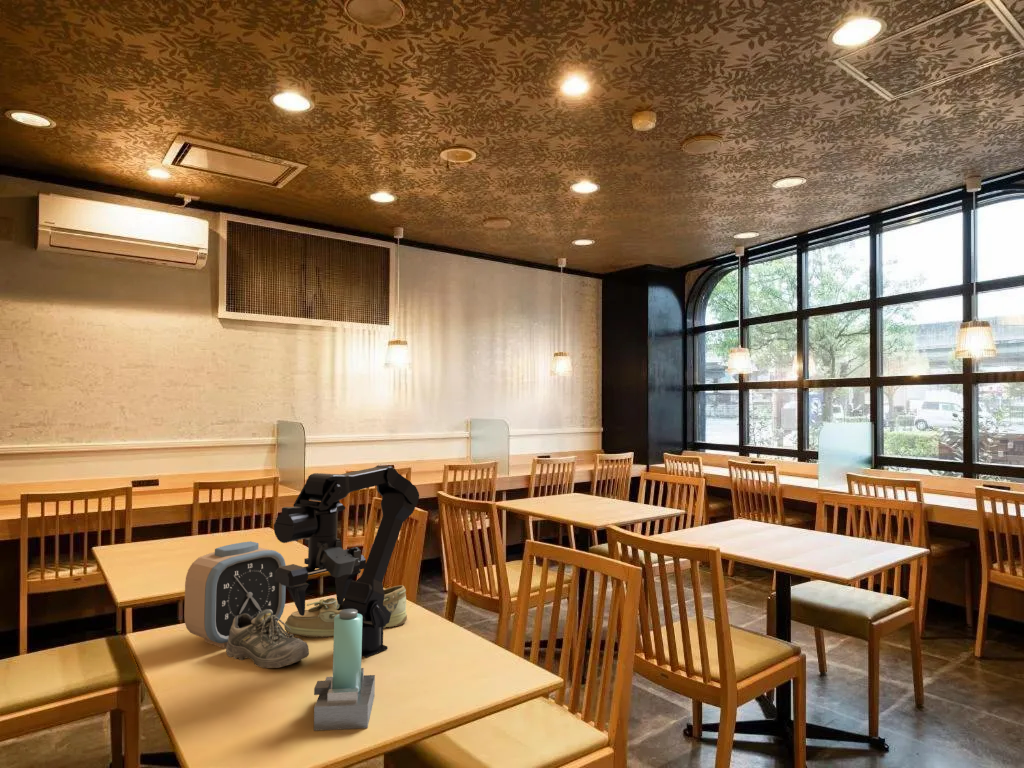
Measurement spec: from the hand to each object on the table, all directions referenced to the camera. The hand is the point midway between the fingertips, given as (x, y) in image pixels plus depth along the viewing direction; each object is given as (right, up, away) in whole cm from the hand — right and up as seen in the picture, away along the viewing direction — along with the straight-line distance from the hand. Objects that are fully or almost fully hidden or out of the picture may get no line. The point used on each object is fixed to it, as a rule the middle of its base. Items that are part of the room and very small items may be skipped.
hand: (321, 609), depth 132 cm
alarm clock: (-26, -14, +19) cm, 35 cm away
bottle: (+10, -9, -17) cm, 21 cm away
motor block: (+10, -13, -17) cm, 23 cm away
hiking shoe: (-14, -13, +7) cm, 21 cm away
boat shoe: (-1, -14, +26) cm, 29 cm away
